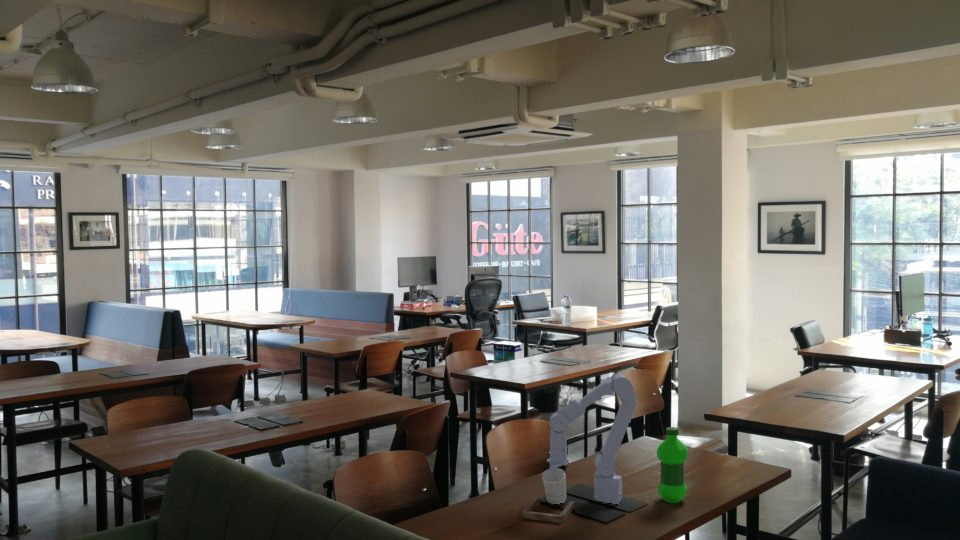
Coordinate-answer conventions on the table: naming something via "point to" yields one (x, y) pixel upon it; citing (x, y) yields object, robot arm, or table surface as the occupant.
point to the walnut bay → (560, 518)
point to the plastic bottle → (672, 467)
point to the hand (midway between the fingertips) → (558, 486)
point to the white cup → (555, 486)
